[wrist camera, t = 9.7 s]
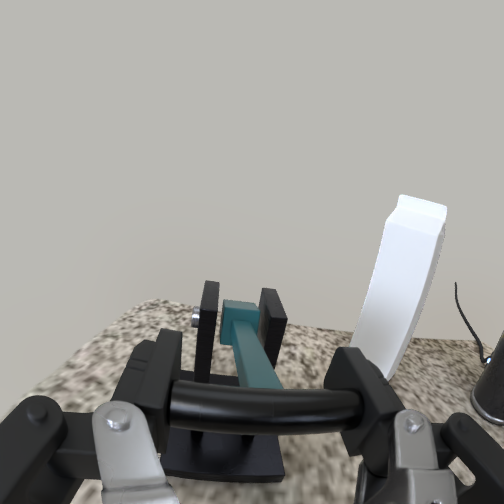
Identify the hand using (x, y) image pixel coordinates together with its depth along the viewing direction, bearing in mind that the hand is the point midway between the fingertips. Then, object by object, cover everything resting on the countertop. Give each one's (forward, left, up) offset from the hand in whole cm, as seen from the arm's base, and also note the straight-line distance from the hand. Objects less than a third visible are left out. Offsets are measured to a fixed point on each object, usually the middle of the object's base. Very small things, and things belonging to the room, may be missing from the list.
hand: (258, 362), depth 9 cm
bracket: (-6, -5, -14) cm, 16 cm away
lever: (-2, -2, -3) cm, 4 cm away
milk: (-24, +4, -14) cm, 28 cm away
